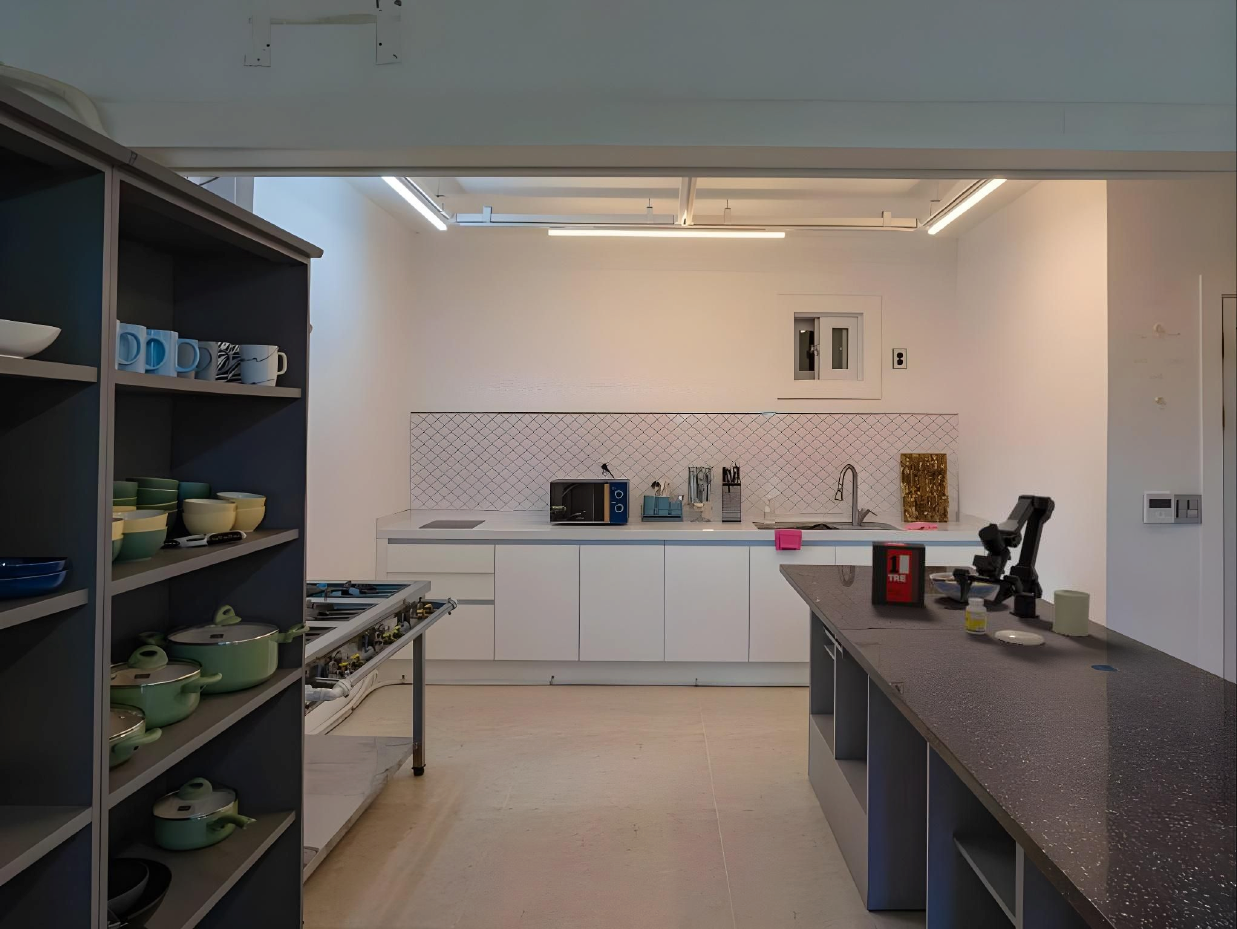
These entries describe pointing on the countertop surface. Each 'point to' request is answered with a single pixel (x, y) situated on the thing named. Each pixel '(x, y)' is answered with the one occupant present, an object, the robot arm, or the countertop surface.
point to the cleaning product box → (898, 574)
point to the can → (1071, 613)
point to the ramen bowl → (952, 589)
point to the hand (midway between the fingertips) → (977, 603)
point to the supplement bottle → (976, 616)
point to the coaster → (1019, 637)
